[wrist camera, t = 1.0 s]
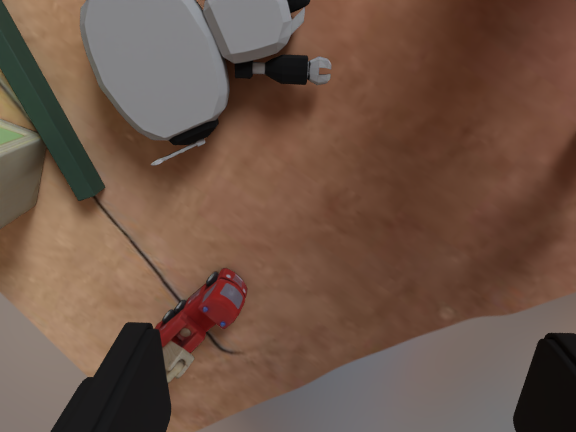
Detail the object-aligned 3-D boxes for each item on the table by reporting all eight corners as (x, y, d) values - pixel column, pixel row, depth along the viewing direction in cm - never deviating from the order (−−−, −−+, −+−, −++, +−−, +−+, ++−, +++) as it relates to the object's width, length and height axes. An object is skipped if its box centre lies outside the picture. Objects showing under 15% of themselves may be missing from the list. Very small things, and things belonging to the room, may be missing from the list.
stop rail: (-10, -21, 28) (-31, -25, 26) (105, 187, 34) (94, 195, 32) (-28, -13, 28) (-50, -16, 27) (90, 192, 34) (78, 201, 33)
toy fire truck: (253, 283, 38) (239, 360, 29) (157, 360, 42) (120, 447, 33) (227, 260, 37) (204, 332, 28) (132, 340, 41) (86, 425, 32)
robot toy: (271, -101, 27) (71, -4, 28) (272, -129, 22) (36, -13, 24) (334, 81, 31) (159, 157, 33) (345, 86, 27) (143, 172, 28)
